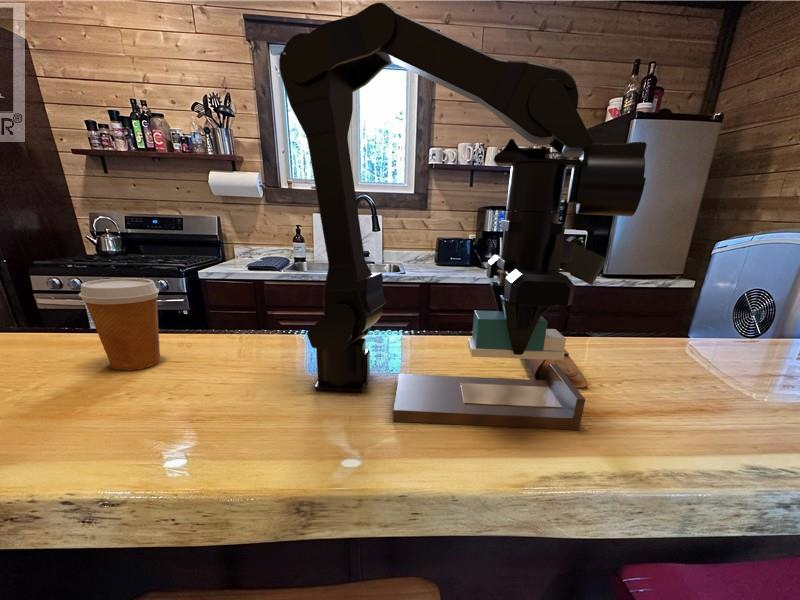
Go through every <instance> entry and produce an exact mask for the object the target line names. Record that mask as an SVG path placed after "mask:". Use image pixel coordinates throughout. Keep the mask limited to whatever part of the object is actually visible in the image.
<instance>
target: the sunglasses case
mask: <svg viewBox="0 0 800 600" xmlns="http://www.w3.org/2000/svg"><path fill="white" fill-rule="evenodd" d="M564 353H565V354H564V359H563V360H545V359H524V361H525V363H526V365H527V367H528V370H529V371H530V374H531V376H532V377H533V380H547V377H548V371H549V365H550V364H557V365H558V367H559V368H560V369H561V370H562V371H563V373H564V374H565V375H566V376H567V377H568V379H569V380H570V381H571V382H572V384H573V385H574V386H575V387H576V388H577V389H582V388H588V386H589V384H588V381H587V380H586V377H585V376H584V375H583V373H582V372H581V369H580V368H579V367H578V365H577V364H576V363H575V362H574V361H573V359H572V357H570V353H569V351H567V349H566V348H564Z"/></svg>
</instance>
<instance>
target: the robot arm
mask: <svg viewBox="0 0 800 600" xmlns="http://www.w3.org/2000/svg"><path fill="white" fill-rule="evenodd" d="M392 64H395V65H398V66H399V67H401V68H403V69H406V70H408V71H410V72H412V73H414V74H416V75H418V76H420V77H422V78H425V79H427V80H429V81H431V82H434V83H435V84H437V85H440V86H442V87H443V88H446V89H448V90H450V91H452V92H455V93H456V94H458V95H460V96H463V97H465V98H467V99H468V100H471V101H473V102H475V103H477V104H480V105H482V106H483V107H485V108H486V109H487V110H488V111H490V112H491V113H493V115H495V116H496V117H497V118H498V119H500V121H502V122H503V123H504V124H506V126H508V127H509V128H510V129H511V130H513V131H514V132H515V133H517V134H519V135H520V136H521V137H522V138H523V139H525V140H526V141H528V142H529V143H531V144H533V145H537V146H547V145H549V146H550V147H551V148H552V149H553V150H554V151H556V152H557V153H558V154H560V155H561V156H562V157H566V158H554V157H553V158H552V157H551V158H550V157H547V148H546V147H519V146H518V144H517V143H516V141H515V140H514V138H510V139H509V140H508V142H507V144H506V145H505V146H504V147H503V148H502V149H501V150H500V151H499V152H498V153H497V154H495V155H494V157H493V162H494V163H495V164H496V166H499V167H511V168H510V174H509V181H508V192H507V193H508V194H507V200H506V209H505V210H506V211H505V219H501V223H500V224H501V226H500V230H503V236H502V244H501V251H500V254H494V255H493V256H492V257H491V258H490V259H489V260H488V261H487V265H486V275H485V276H486V277H487V278H488V279H494V278H495V277H496V281H489V286H490V289H491V292H492V296H493V299H494V303H495V306H496V309H497V310H496V311H504V315H505V319H506V324H507V328H508V332H509V337H510V341H511V345H512V350H513V353H514V354H516V355H522V354H523V353H524V351H525V349H526V347H527V344H528V342H529V340H530V338H531V336H532V333H533V331H534V329H535V327H536V325H537V323H538V321H539V319H540V317H541V316H543V314H545V313H547V312H548V311H549V310H550V309H552V308H556V307H558V306H567V307H569V306H571V305H572V304H573V298H574V294H575V288H576V285H575V284H574V283H573V281H572V280H571V279H570V278H569V276H568V275H566V274H565V273H562V272H560V271H561V270H562V271H564V272H566V273H569V274H570V276H571V277H573V278H576V279H578V280H580V281H582V282H584V283H586V284H588V285H591V286H593V285H594V283H595V281H596V279H597V278H598V276H599V274H600V273H601V271H602V269H603V267H604V265H605V264H606V262H607V260H608V259H607V257H605V256H602V255H600V254H598V253H596V252H594V251H592V250H589V249H587V248H586V241H584V240H582V239H579V238H577V237H576V236H574V235H573V236H572V235H570V236H569V237H567V238H566V239H565V238H564V237H565V230H566V228H565V226H564V223H560V222H559V218H560V212H561V205H562V199H563V194H564V193H563V191H564V186H565V180H566V174H567V168H569V169H571V168H572V169H571V175H570V179H569V186H568V193H567V201H566V202H567V204H571V205H575V206H576V207H575V213H576V215H593V216H615V217H616V216H617V217H633V216H634V215H635V213H636V212H637V210H638V207H639V205H640V202H641V199H642V196H643V193H644V188H645V185H646V179H647V177H645V171H646V157H645V153H646V149H647V145H648V144H647V143H646V142H645V141H630V142H626V143H594V141H593V138H592V137H591V135H590V132H589V130H588V129H587V128H586V125H585V123H584V122H583V121H584V120H583V119H582V117H581V115H580V114H579V112H578V110H577V109H578V107H579V91H578V86H577V84H576V83H577V82H576V80H575V78H574V77H573V76H572V75H571V74H570V73H569V72H568V71H566V70H565V69H563V68H559V67H556V66H551V65H547V64H543V63H542V64H541V63H537V62H533V61H527V60H507V59H503V58H499V57H495V56H493V55H491V54H488V52H487V53H486V52H484V51H482V50H480V49H478V48H476V47H474V46H471V45H469V44H468V43H465V42H463V41H461V40H459V39H457V38H454V37H452V36H450V35H448V34H446V33H444V32H442V31H440V30H437V29H436V28H434V27H431V26H429V25H427V24H424V23H422V22H420V21H418V20H416V19H414V18H412V17H410V16H407V15H405V14H403V13H400V12H399V11H397V10H396V9H394V7H393V6H392V5H390V4H389V3H385V2H375V3H372V4H370V5H368V6H367V7H365V8H364V9H362V10H361V11H359V12H357V13H355V14H353V15H349V16H345V17H342V18H339V19H335V20H332V21H328V22H325V23H323V24H321V25H318V27H316V28H315V29H313V30H311V31H310V32H300V33H298V34H295V35H294V36H292V37H291V38H290V39H289V40H288V41H287V42H286V43H285V45H284V47H283V49H282V51H281V52H280V53H279V58H278V69H279V74H280V78H281V80H282V84H283V87H284V90H285V94H286V97H287V100H288V103H289V105H290V108H291V110H292V112H293V113H294V116H295V117H296V120H297V122H298V123H299V126H300V128H301V129H302V131H303V133H304V135H305V138H306V140H307V146H308V153H309V157H310V165H311V171H312V176H313V181H314V187H315V193H316V199H317V205H318V211H319V217H320V221H321V228H322V234H323V240H324V246H325V252H326V257H327V265H328V267H327V273H326V278H325V283H324V287H323V316H322V317H321V318H320V319H319V320H318V321H317V322H316V323H315V324H314V325H312V326H311V328H309V330H307V332H306V335H307V338H308V341H309V343H310V346H311V348H312V349H316V368H317V369H316V370H317V381H316V383H315V385H314V390H315V391H328V392H329V391H330V392H331V391H333V392H353V393H362V392H363V391H364V388H365V385H366V384H368V382H369V379H370V377H371V374H370V373H371V372H370V371H371V370H370V369H371V368H370V366H371V358H370V357H371V355H370V353H371V351H370V350H369V349H367V348H366V347H367V345H366V344H367V343H366V342H367V341H366V338H364V337H365V336H367V335H368V334H369V333H370V329H371V327H372V326H374V325H375V324H376V323H377V322H378V321H379V320H380V319H381V317H382V315H383V311H384V305H385V304H387V303H388V300H387V299H386V297H385V293H384V289H383V288H384V287H383V285H384V277H383V273H382V272H379V273H373V272H372V271H371V269H370V267H369V265H368V264H367V261H366V258H365V251H364V245H363V238H362V230H361V225H360V217H359V216H360V215H359V209H358V203H357V195H356V188H355V182H354V181H355V180H354V174H353V166H352V160H351V154H350V153H351V152H350V145H349V130H350V126H351V121H352V117H353V113H354V112H353V111H354V92H356V91H358V90H360V89H362V88H363V87H365V86H367V85H368V84H369V83H370V82H371V81H372V80H373V79H374V78H375V77H376V76H377V75H378V74H380V72H381V71H382V70H384V69H385V68H387V67H388V66H390V65H392ZM573 158H574V159H573ZM575 158H578V159H575Z"/></svg>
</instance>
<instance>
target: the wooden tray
mask: <svg viewBox="0 0 800 600" xmlns="http://www.w3.org/2000/svg"><path fill="white" fill-rule="evenodd" d="M585 404H586V398H585V397H584V396H583V394H582V393H581V391H579V390H578V388H576V387H575V386H574V385H573V384H572V382H571V381H570V380H569V379H568V377H567V376H566V375H565V374H564V373H563V371H562V370H561V369H560V368H559V367H558V365H557V364H550V365H549V371H548V377H547V380H535V379H527V378H526V379H524V378H506V377H505V378H501V377H483V376H481V377H479V376H459V375H458V376H457V375H440V374H439V375H438V374H437V375H436V374H420V373H419V374H416V373H415V374H414V373H399V374H398V379H397V386H396V392H395V397H394V403H393V409H392V422H400V423H420V424H421V423H423V424H425V423H426V424H441V425H442V424H444V425H465V426H488V427H507V428H528V429H547V430H571V431H579V430H580V427H581V423H582V418H583V414H584V408H585Z"/></svg>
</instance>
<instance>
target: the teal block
mask: <svg viewBox="0 0 800 600" xmlns="http://www.w3.org/2000/svg"><path fill="white" fill-rule="evenodd" d="M471 336H472V337H468V338H467V347H468V350H469V353H470V357H472V358H492V359H493V358H494V359H495V358H497V359H520V360H523V359H524V360H525V359H545V360H563V359H564V354H565V353H564V349H566V348H565V347H566V342H567V338H566V337H565V336H564V335H563V334H561V332H559V331H558V330H557V329H556V328H548V321H547V319H546V318H544V317H543V315H541V317H540V319H539V321H538V323H537V325H536V327H535V329H534V331H533V333H532V336H531V338H530V340H529V342H528V344H527V347H526V349H525V351H524V353H523V354H522V355H516V354H514V353H513V350H512V345H511V341H510V337H509V332H508V328H507V324H506V319H505V315H504V311H498V310H479V309H478V310H474V311H473V323H472V335H471Z"/></svg>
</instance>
